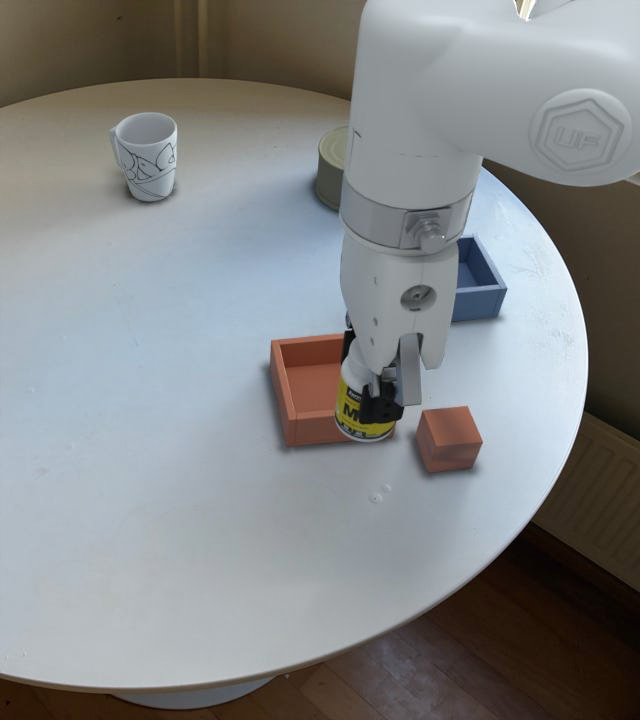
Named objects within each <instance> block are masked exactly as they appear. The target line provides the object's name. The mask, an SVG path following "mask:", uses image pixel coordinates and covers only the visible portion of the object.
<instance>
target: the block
mask: <svg viewBox="0 0 640 720" xmlns="http://www.w3.org/2000/svg"><path fill="white" fill-rule="evenodd" d="M414 439H415V441H416V444H417V446H418V449H419V452H420V455H421V458H422V460H423V464H424V466H425V470H426V472H427V473H436V472H448V471H457V470H469V469H473V467H474V465H475V463H476V461H477V459H478V455H479V454H480V451H481V448H482V446H483V444H484V441H483V439H482V436H481V434H480V432H479V429H478V426H477V424H476V422H475V420H474V418H473V416H472V413H471V410H470V407H469V406H468V405H459V406H458V405H457V406H448V407H437V408H428V409H422V410H421V414H420V417H419V421H418V424H417V428H416V431H415V434H414Z"/></svg>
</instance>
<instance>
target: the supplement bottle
mask: <svg viewBox="0 0 640 720" xmlns="http://www.w3.org/2000/svg"><path fill="white" fill-rule="evenodd" d="M391 377H396V367H394V368H385V369H384V372H382V377H381V379H383V378H391ZM366 384H369V368H368V366H367V364H366V362H365V359H364V357H363V354H362V351H361V348H360V346H359V343H358V340H357V337H356V338H355V339H354V340H353V341H352V343H351V345H350V349H349V354H348V356H347V357H346V358H345V360H344V362H343V364H342V367H341V373H340V380H339V387H338V394H337V401H336V407H335V421H336V424H337V426H338V428H339V429H340V431H341V432H342V433H343V434H345V435H346V436H347V437H349V438H351V439H353V440H352V441H357V442H362V443H374V442H378V441H381V440H383V439H386V438H387V437H386V436H388V435H389V434H390V432H391V431H392V429H393V427H394V424H395V421H392V422H390V423H385V424H377V423H374V424H365V425H362V424H360V422H359V419H358V413H359V407H360V401H361V395H362V389H363V386H364V385H366Z"/></svg>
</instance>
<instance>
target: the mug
mask: <svg viewBox="0 0 640 720" xmlns="http://www.w3.org/2000/svg"><path fill="white" fill-rule="evenodd" d="M108 136H109V143H110V145H111V149H112V152H113V155H114V160H115V162H116V164H117V166H118V167H119V168H120V169H122V170H123V171H122V172H123V173H124V177H125V180H126V183H127V186H128V188H129V191H130V193H131V195H132V196H133V197H134V198H135V199H137V200H139V201H142V202H148V203H149V202H150V203H151V202H158V201H161V200H163V199H166V198H167V197H168V196H169V195H171V193H172V191H173V189H174V185H175V178H176V177H175V175H176V168H177V161H178V160H177V159H178V158H177V157H178V127H177V123H176V122H175V120H174V119H173V118H172V117H170V116H169V115H167V114H164V113H161V112H152V111H151V112H139V113H135V114H132V115H129V116H127V117H125V118H123V119H122V120H121V121H120V122H119V123H118V124H117V125H115V126H113V127H112V128H111V129H110V130H109V131H108Z"/></svg>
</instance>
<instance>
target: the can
mask: <svg viewBox="0 0 640 720" xmlns="http://www.w3.org/2000/svg"><path fill="white" fill-rule="evenodd" d="M348 127H349V124H345V125H341V126H337V127H336V128H333V129H331V130H329V131H328V132H327V133H325V134H324V135H323V136H322V137H321V138H320V140H319V143H318V147H317V150H318V151H317V152H318V161H317V162H318V163H317V173H316V174H317V175H316V184H315V192H316V195H317V196H318V199H319V200H320V201H321V202H322V203H323V204H324V205H326V206H327V207H328V208H330V209H333V210H334V211H337V212H339V211H340V201H341V192H342V182H343V173H344V166H345V155H346V146H347V136H348Z"/></svg>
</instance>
